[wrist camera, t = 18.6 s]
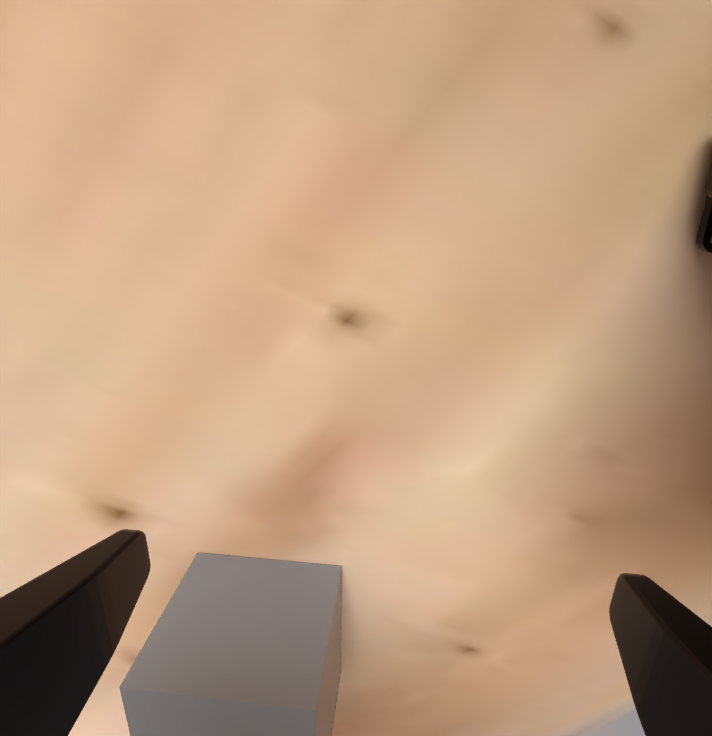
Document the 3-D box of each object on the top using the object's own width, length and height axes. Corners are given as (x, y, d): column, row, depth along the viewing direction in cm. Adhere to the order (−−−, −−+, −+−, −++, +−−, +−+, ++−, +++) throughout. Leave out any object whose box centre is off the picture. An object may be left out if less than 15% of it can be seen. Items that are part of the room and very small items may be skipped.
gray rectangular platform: (341, 565, 24) (315, 711, 18) (340, 671, 27) (317, 832, 20) (197, 552, 25) (119, 687, 18) (210, 656, 28) (146, 807, 21)
